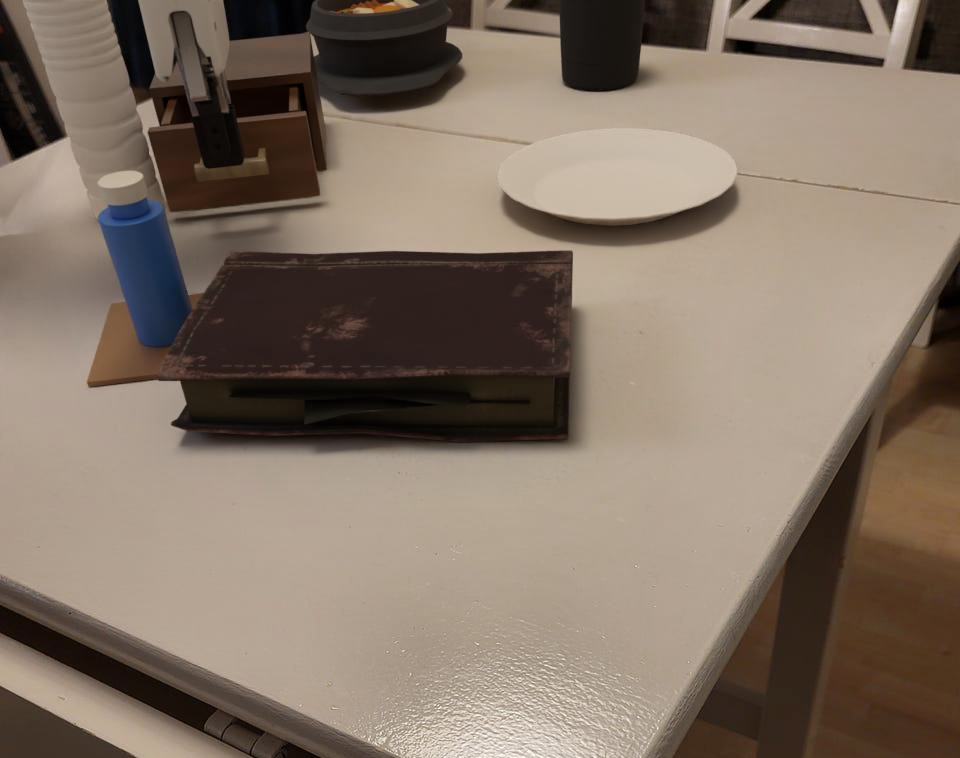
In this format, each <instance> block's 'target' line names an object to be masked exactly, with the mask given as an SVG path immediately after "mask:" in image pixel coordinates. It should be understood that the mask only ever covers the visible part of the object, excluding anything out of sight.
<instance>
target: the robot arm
mask: <svg viewBox="0 0 960 758" xmlns="http://www.w3.org/2000/svg"><path fill="white" fill-rule="evenodd" d="M137 2H138V5H139V9H140V14H141V17H142V22H143V26H144V30H145V34H146V39H147V43H148V48H149V51H150V52H149V53H150V57H151V60H152V64H153V70H154V74H155V73H156V76H157V77H158V78H159V79H160V80H161V81H163V82H168V81H169V79H170V76H172V74H173V71H174V68H175V65H176V62H177V63H178V66H179V70H180V74H181V77H182V81H183V84H184V88H185V92H186V95H187V99H188V102H189V106H190V110H191V113H192V114H191V118H192V122H193V126H194V130H195V134H196V138H197V142H198V145H199V149H200V153H201V157H202V161H203V165H204V166H205V167H206V168H207V169H212V168H221V167H230V166H238V165H242V164H243V162H244V155H245V153H244V148H243V144H242V139H241V135H240V131H239V126H238V122H237V117H236V113H235V108H234V105H228V104H231V99H230V94H229V89H228V84H227V79H226V75H225V70H224V69H225V66H226V62H227V57H228V52H229V41H230V34H229V27H228V21H227V16H226V9H225V4H224V0H137Z"/></svg>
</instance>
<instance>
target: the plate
mask: <svg viewBox="0 0 960 758" xmlns="http://www.w3.org/2000/svg"><path fill="white" fill-rule="evenodd" d="M738 174H739V172H738V168H737V163H736V161H735V160H734V158H733V157H732V156H731V155H730V154H729V153H728V151H726V150H724V149H723V148H721V147H720V146H717V145H716V144H715V143H713V142H709V141H707V140H705V139H701V138H698V137H695V136H692V135H688V134H683V133H678V132H674V131H668V130H661V129H660V130H659V129H649V128H630V127H629V128H622V127H621V128H619V127H615V128H600V129H589V130H588V129H587V130H581V131H574V132H568V133H563V134H559V135H556V136H551V137H548V138H544V139H540V140H538V141H536V142H533V143H531V144H528V145H526V146H523V147H521V148H520V149H518V150H517V151H515V152H513V153H512V154H510V155H509V156H508V157H507V158H506V159H505V160H504V161H503V162H502V163H501V164H500V166H499V168H498V172H497V174H496V175H497V176H496V180H497V182H498V185H499V187H500V190H501V191H503V192H504V193H505V195H507V196H508V197H509V198H510V199H511V200H513V201H515V202H518V203H520V204H522V205H524V206H526V207H527V208H530V209H532V210H533V209H534V210H536V211H541V212H544V213H547V214H549V215H552V216H554V217H557V218H560V219H563V220H567V221H570V222H573V223H576V224H584V225H592V226H605V227H606V226H607V227H608V226H609V227H619V226H633V225H639V224H644V223H645V224H646V223H652V222H655V221H658V220H662V219H665V218H668V217H670V216H673V215H675V214H678V213H680V212H684V211H687V210H689V209H694V208H697V207H700V206H702V205H704V204H707V203H709V202H711V201H713V200H714V199H717V198H719V197H720V196H722V195H723V194H724V193H725V192H726V191H728V190H729V189H730V188H731V187H733V185H734V183H735V181H736V178H737V176H738Z"/></svg>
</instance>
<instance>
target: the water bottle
mask: <svg viewBox="0 0 960 758" xmlns="http://www.w3.org/2000/svg"><path fill="white" fill-rule="evenodd" d="M22 4H23V7H24V9H25V10H26V16H27V19H28V21H29V22H30V23H29V24H30V27H31V31H32V32H33V33H34V34H33V36H34V40H35V42H36V43H37V49H38V52H39V54H40V55H41V61H42V64H43V65H44V66H45V73H46V76H47V79H48V82H49V86H50V89H51V92H52V93H53V95H54V96H55V98H56V99H55V101H56V107H57V109H58V112H59V115H60V117H61V120H62V121H63V123H64V131H65V133H66V136H67V137H68V139H69V140H70V148H71V151H72V154H73V157H74V159H75V162H76V164H77V166H78V168H79V169H78V170H79V174H80V178H81V181H82V183H83V186H84V188H85V189H86V195H87V199H88V202H89V205H90V208H91V211H92V213H93V215H94V218H95V219H96V220H97V221H98V216H99V214H100V213H101V212H102V211H103V210H104V209H106V208H108V204H106V203H104V201H103V199H102V196H101V193H100V190H99V187H98V181H99V179H101V178H102V177H104V176H106V175H108V174H111V173H115V172H120V171H137V172H140V173H142V174H143V176H144V180H145V183H146V187H147V190H148V195H147V200H154V201H157V202H159V203H161V204H162V205H163V208H165V199H164V195H163V192H162V188H161V186H160V182H159V180H158V177H157V175H156V174H157V173H156V168H155V164H154V161H153V158H152V156H151V154H150V148H149V143H148V140H147V137H146V135H145V133H144V131H143V130H144V127H143V123H142V119H141V116H140V114H139V112H138V111H137V109H138V107H137V102H136V101H137V100H136V98H135V94H134V92H133V88H132V87H131V86H130V84H131V83H130V76H129V73H128V70H127V66H126V64H125V60H124V57H123V55H122V50H121V47H120V44H119V43H118V42H119V40H118V36H117V33H116V32H115V30H116V28H115V25H114V23H113V21H112V14H111V12H110V11H109V4H108V1H107V0H22Z"/></svg>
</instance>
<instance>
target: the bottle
mask: <svg viewBox="0 0 960 758" xmlns="http://www.w3.org/2000/svg"><path fill="white" fill-rule="evenodd" d="M98 187H99V190H100V193H101V196H102V199H103V201H104V203H106V204H108V208H106V209H104V210H103V211H102V212H101V213H100V214H99V216H98V220H97V221H98V225H99V227H100V230H101V233H102V236H103V239H104V242H105V244H106V249H107V250H108V255H109V256H110V260H111V263H112V266H113V269H114V272H115V274H116V278H117V280H118V284H119V287H120V289H121V293H122V296H123V299H124V302H126V305H127V308H128V311H129V314H130V317H131V320H132V323H133V326H134V329H135V332H136V335H137V338H138V340H139V341H140V342H141V343H142V344H144V345H147V346H151V347H165V346H171V345H172V344H173V342H174V340H175V339H176V337H177V335H178V333H179V331H180V329H181V328H182V326H183V324H184V323H185V321H186V319H187V318H188V316H189V314H190V313H191V311H192V310H193V309H192V306H191V302H190V299H189V295H190V294H189V292H188V288H187V285H186V282H185V278H184V275H183V272H182V271H183V270H182V267H181V264H180V261H179V257H178V253H177V250H176V247H175V244H174V243H175V242H174V240H173V236H172V233H171V229H170V226H169V221H168V218H167V215H166V212H165V211H166V210H165V207H163V205H162V204H161V203H159V202H157V201H154V200H147V195H148V190H147V187H146V183H145V180H144V176H143V174H142V173H140V172H137V171H120V172H115V173H111V174H108V175H106V176H104V177H102V178H101V179H99V181H98Z"/></svg>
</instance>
